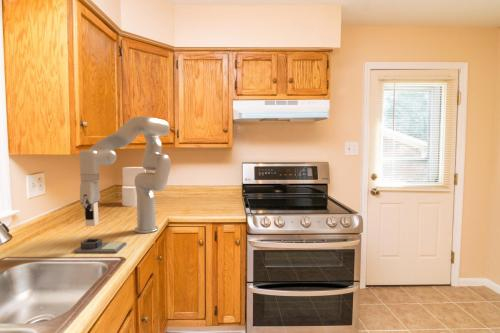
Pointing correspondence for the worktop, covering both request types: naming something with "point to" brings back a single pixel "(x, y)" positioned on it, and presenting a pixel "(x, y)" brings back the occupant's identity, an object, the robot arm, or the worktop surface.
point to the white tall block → (130, 185)
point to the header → (99, 246)
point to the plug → (95, 215)
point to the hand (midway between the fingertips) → (91, 217)
